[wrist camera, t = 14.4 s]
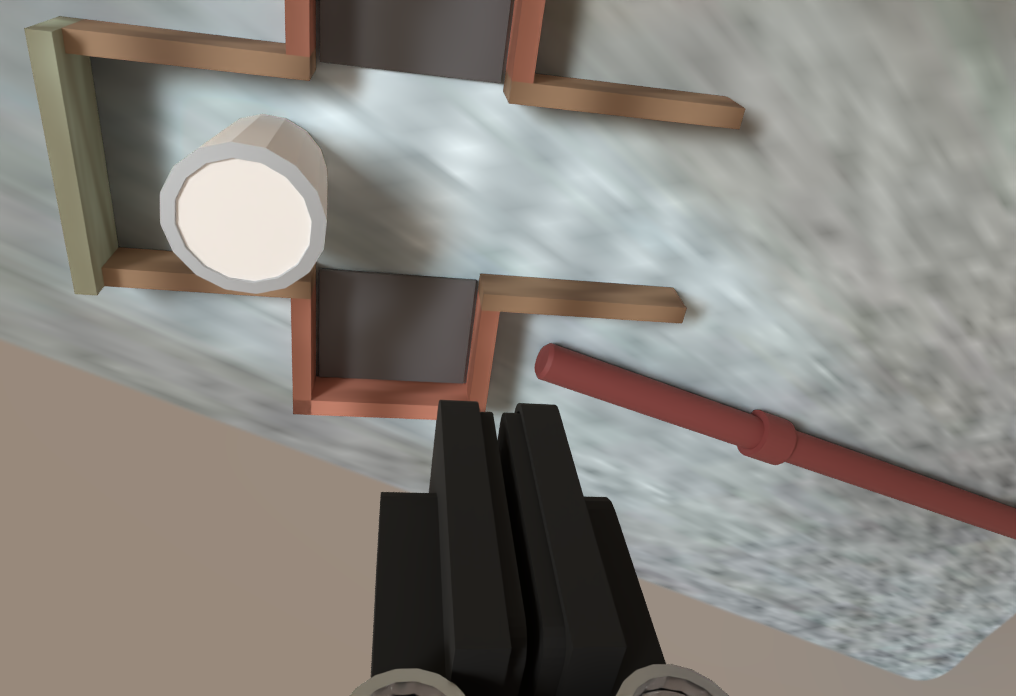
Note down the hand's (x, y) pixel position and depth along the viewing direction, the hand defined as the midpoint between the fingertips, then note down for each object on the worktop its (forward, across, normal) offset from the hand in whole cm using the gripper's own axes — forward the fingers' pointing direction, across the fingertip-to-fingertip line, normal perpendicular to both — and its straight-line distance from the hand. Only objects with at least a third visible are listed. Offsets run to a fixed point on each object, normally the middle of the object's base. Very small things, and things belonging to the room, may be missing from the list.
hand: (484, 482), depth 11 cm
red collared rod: (+30, -29, +22) cm, 47 cm away
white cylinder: (+29, +8, +6) cm, 31 cm away
